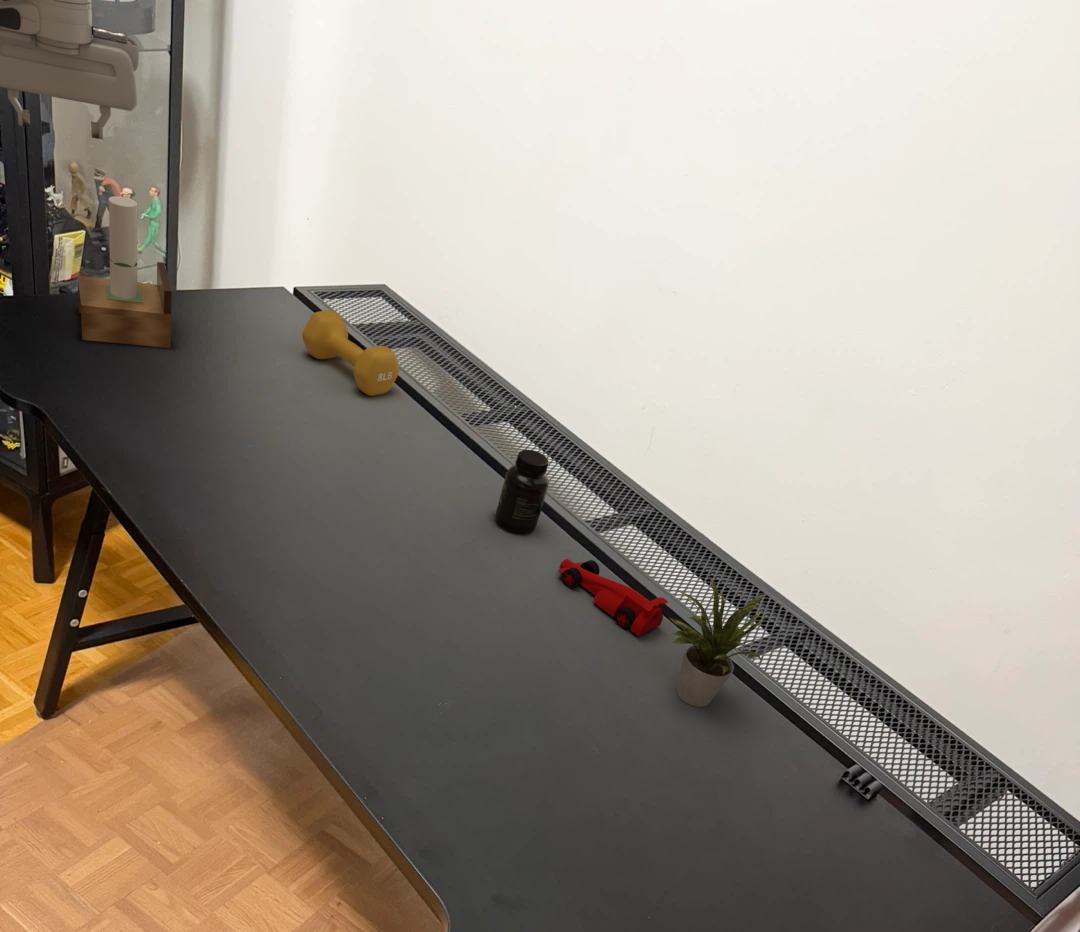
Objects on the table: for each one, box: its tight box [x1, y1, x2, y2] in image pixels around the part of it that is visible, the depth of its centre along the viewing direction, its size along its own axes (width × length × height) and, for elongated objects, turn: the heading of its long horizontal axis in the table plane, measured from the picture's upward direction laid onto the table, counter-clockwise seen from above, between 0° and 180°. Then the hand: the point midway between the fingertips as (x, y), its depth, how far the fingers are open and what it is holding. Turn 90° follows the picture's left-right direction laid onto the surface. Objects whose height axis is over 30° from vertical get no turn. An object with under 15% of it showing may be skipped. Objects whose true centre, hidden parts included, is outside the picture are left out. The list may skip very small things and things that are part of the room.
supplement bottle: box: [494, 449, 550, 536], centre depth 159 cm, size 7×7×12 cm
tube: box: [108, 195, 138, 299], centre depth 168 cm, size 4×4×15 cm
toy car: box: [557, 558, 669, 637], centre depth 152 cm, size 6×18×5 cm, turn 47°
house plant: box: [669, 576, 767, 708], centre depth 137 cm, size 14×14×16 cm
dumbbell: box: [301, 310, 400, 397], centre depth 184 cm, size 19×9×8 cm, turn 47°
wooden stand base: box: [77, 261, 173, 349], centre depth 174 cm, size 14×12×10 cm
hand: (61, 131), depth 145 cm, fingers open, 8 cm apart
